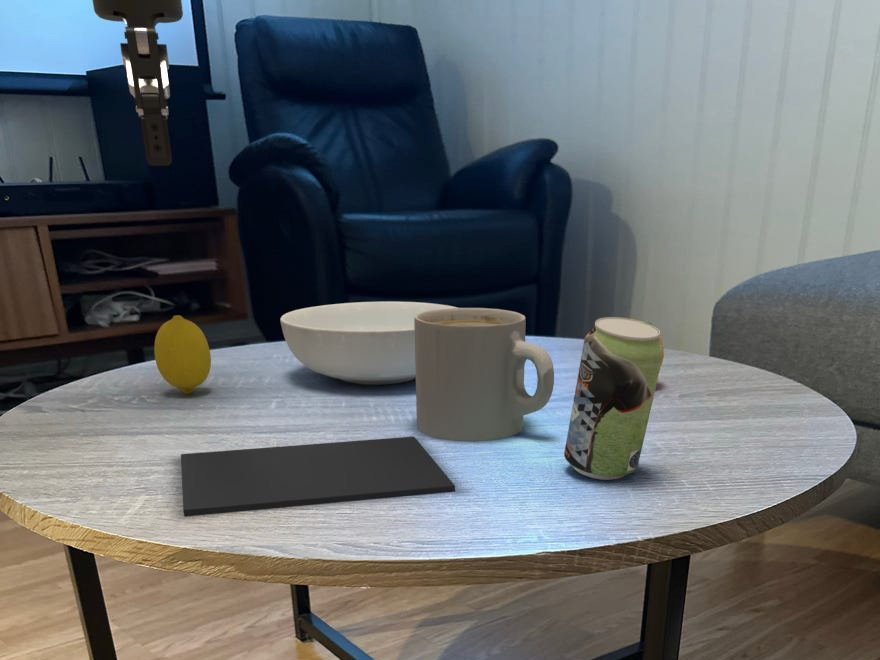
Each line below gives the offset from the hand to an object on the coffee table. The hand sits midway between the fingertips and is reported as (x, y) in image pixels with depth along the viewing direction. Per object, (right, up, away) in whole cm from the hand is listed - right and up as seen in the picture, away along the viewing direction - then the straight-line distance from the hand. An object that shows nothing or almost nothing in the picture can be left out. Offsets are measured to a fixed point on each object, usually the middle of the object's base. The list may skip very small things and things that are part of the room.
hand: (160, 164), depth 89 cm
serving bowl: (+19, -15, +18) cm, 30 cm away
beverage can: (+41, -32, -13) cm, 53 cm away
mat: (+17, -32, -14) cm, 39 cm away
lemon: (-1, -19, +10) cm, 22 cm away
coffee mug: (+31, -26, -2) cm, 40 cm away
